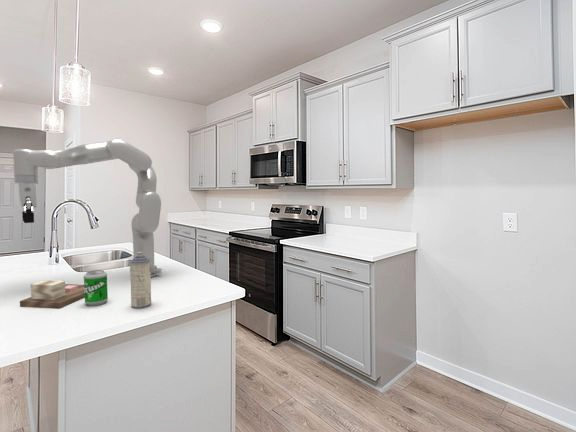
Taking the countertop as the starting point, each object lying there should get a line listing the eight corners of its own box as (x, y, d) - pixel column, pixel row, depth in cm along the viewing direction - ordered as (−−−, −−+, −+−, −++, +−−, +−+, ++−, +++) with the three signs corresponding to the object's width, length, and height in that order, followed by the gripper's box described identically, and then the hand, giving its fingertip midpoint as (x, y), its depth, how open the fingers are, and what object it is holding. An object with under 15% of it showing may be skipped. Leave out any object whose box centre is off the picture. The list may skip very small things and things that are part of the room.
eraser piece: (77, 289, 134) (77, 285, 134) (70, 292, 130) (70, 288, 130) (68, 288, 135) (68, 285, 134) (61, 291, 131) (60, 288, 131)
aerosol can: (154, 304, 122) (153, 252, 121) (137, 309, 117) (135, 254, 115) (145, 300, 126) (143, 249, 125) (127, 305, 121) (125, 252, 119)
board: (101, 290, 140) (101, 285, 139) (59, 308, 118) (59, 303, 118) (67, 288, 141) (66, 284, 141) (20, 306, 120) (19, 301, 119)
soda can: (91, 300, 127) (90, 269, 126) (111, 299, 128) (110, 269, 127) (80, 306, 120) (79, 274, 119) (102, 306, 120) (100, 274, 119)
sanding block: (65, 296, 125) (64, 281, 124) (53, 301, 119) (52, 285, 119) (44, 295, 126) (43, 280, 125) (31, 300, 120) (30, 284, 120)
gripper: (39, 179, 129) (41, 223, 130) (36, 180, 142) (38, 219, 143) (15, 179, 124) (17, 224, 125) (13, 180, 137) (15, 220, 138)
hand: (28, 221), depth 134 cm, fingers open, 9 cm apart
